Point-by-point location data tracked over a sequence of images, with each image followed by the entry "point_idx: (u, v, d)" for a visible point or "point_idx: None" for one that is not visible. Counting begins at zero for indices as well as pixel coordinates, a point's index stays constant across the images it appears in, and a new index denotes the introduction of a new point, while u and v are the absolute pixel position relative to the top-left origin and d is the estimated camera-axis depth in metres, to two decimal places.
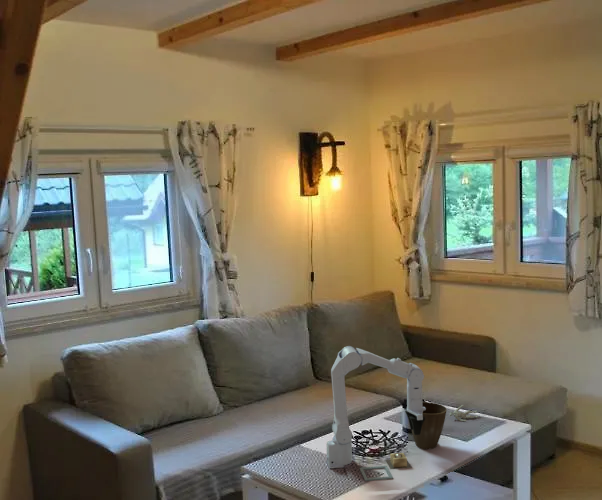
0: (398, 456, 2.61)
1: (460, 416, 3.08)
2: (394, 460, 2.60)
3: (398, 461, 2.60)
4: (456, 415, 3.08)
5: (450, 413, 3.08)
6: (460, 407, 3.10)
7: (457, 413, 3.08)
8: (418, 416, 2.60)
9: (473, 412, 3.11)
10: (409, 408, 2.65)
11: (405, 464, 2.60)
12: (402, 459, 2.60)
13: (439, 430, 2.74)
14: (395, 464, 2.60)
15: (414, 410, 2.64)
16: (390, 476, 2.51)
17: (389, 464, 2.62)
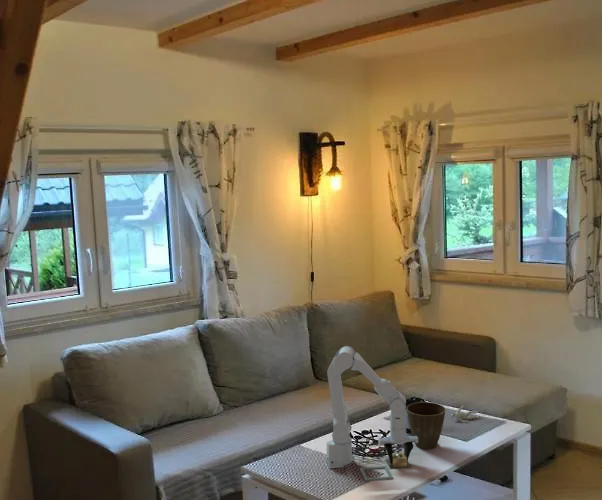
0: (398, 456, 2.61)
1: (461, 417, 3.07)
2: (394, 460, 2.60)
3: (398, 461, 2.60)
4: (458, 416, 3.06)
5: (452, 414, 3.06)
6: (461, 408, 3.09)
7: (458, 414, 3.07)
8: (378, 440, 2.61)
9: None
10: None
11: (405, 464, 2.60)
12: (402, 459, 2.60)
13: (438, 431, 2.73)
14: (395, 464, 2.60)
15: (390, 437, 2.62)
16: (390, 476, 2.51)
17: (389, 464, 2.62)
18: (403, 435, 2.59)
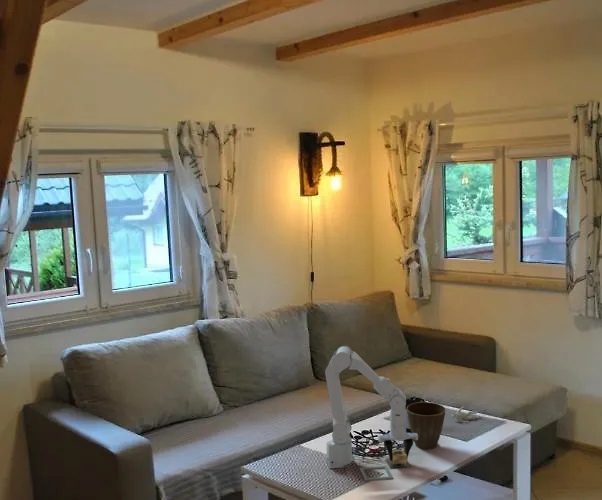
0: None
1: (462, 417, 3.06)
2: (394, 457, 2.59)
3: (398, 458, 2.60)
4: (458, 417, 3.05)
5: (452, 415, 3.05)
6: (461, 408, 3.08)
7: (459, 415, 3.06)
8: (378, 437, 2.61)
9: (474, 413, 3.10)
10: None
11: (405, 461, 2.60)
12: (402, 456, 2.60)
13: (438, 431, 2.73)
14: (395, 461, 2.60)
15: (390, 434, 2.62)
16: (390, 476, 2.51)
17: (389, 464, 2.62)
18: (403, 432, 2.59)
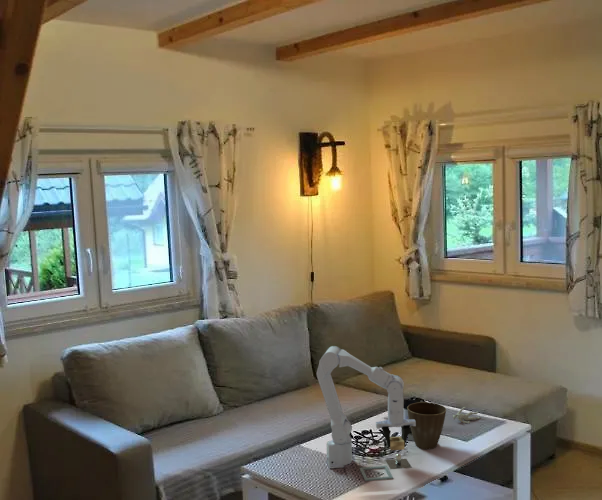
0: (398, 456, 2.61)
1: (463, 418, 3.05)
2: (391, 443, 2.58)
3: (395, 444, 2.58)
4: (459, 417, 3.05)
5: (454, 416, 3.04)
6: (462, 409, 3.07)
7: (460, 415, 3.05)
8: (376, 423, 2.60)
9: (474, 413, 3.09)
10: None
11: (403, 447, 2.59)
12: (400, 442, 2.58)
13: (438, 431, 2.73)
14: (392, 447, 2.58)
15: (387, 420, 2.60)
16: (390, 476, 2.51)
17: (389, 464, 2.62)
18: (401, 418, 2.57)
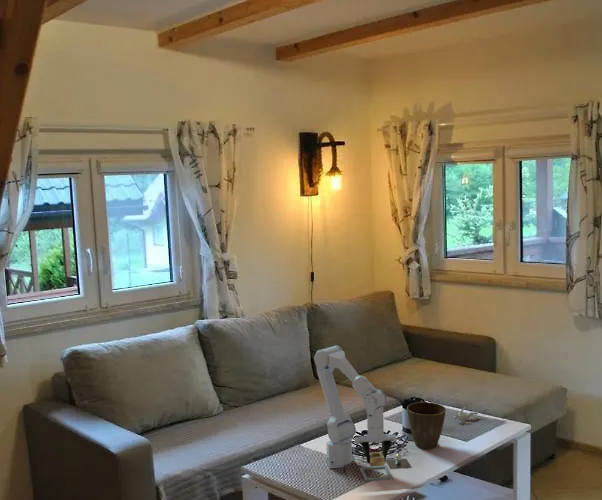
0: (398, 456, 2.61)
1: (464, 419, 3.05)
2: (371, 459, 2.51)
3: (375, 460, 2.51)
4: (461, 418, 3.04)
5: (455, 416, 3.04)
6: (463, 409, 3.07)
7: (461, 416, 3.05)
8: (355, 438, 2.53)
9: (475, 413, 3.09)
10: None
11: (383, 463, 2.52)
12: (379, 458, 2.51)
13: (438, 430, 2.73)
14: (372, 463, 2.51)
15: (367, 435, 2.53)
16: (390, 476, 2.51)
17: (389, 464, 2.62)
18: (380, 433, 2.50)
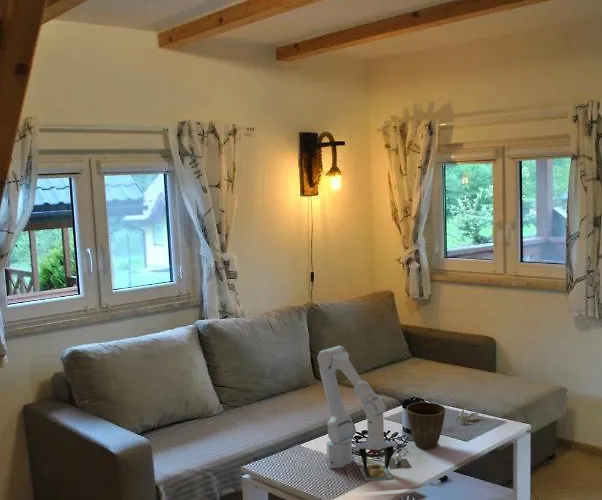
0: (398, 456, 2.61)
1: (465, 419, 3.04)
2: (371, 472, 2.52)
3: (375, 473, 2.52)
4: (462, 418, 3.03)
5: (456, 417, 3.03)
6: None
7: (462, 416, 3.04)
8: (355, 445, 2.53)
9: (475, 414, 3.09)
10: None
11: (383, 476, 2.52)
12: (379, 470, 2.52)
13: (438, 431, 2.73)
14: (372, 475, 2.52)
15: (367, 442, 2.54)
16: (390, 476, 2.51)
17: (389, 464, 2.62)
18: (380, 440, 2.51)
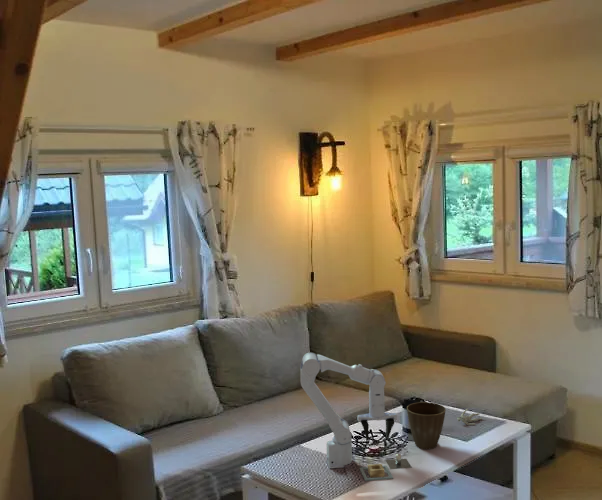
0: (398, 456, 2.61)
1: (467, 420, 3.03)
2: (371, 472, 2.52)
3: (375, 473, 2.52)
4: (464, 419, 3.02)
5: (459, 418, 3.01)
6: (465, 411, 3.05)
7: (464, 417, 3.03)
8: (357, 416, 2.65)
9: (476, 414, 3.08)
10: None
11: (383, 476, 2.52)
12: (379, 470, 2.52)
13: (438, 431, 2.73)
14: (372, 475, 2.52)
15: (369, 413, 2.65)
16: (390, 476, 2.51)
17: (389, 464, 2.62)
18: (381, 411, 2.62)
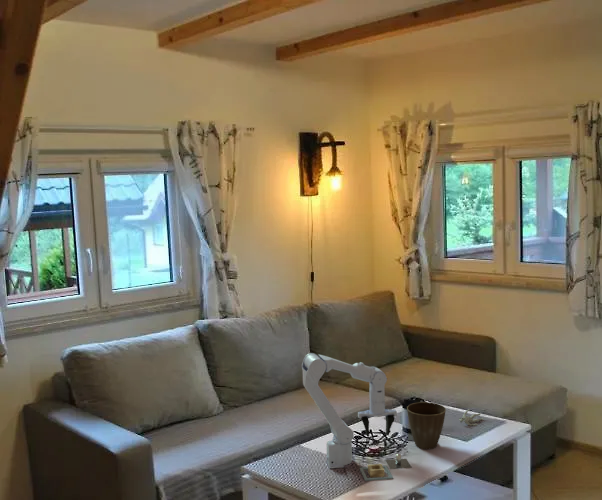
0: (398, 456, 2.61)
1: (469, 421, 3.02)
2: (371, 472, 2.52)
3: (375, 473, 2.52)
4: (466, 420, 3.01)
5: (461, 419, 3.00)
6: None
7: (466, 418, 3.02)
8: (358, 413, 2.68)
9: (477, 415, 3.07)
10: None
11: (383, 476, 2.52)
12: (379, 470, 2.52)
13: (438, 431, 2.73)
14: (372, 475, 2.52)
15: (369, 410, 2.68)
16: (390, 476, 2.51)
17: (389, 464, 2.62)
18: (382, 408, 2.65)
